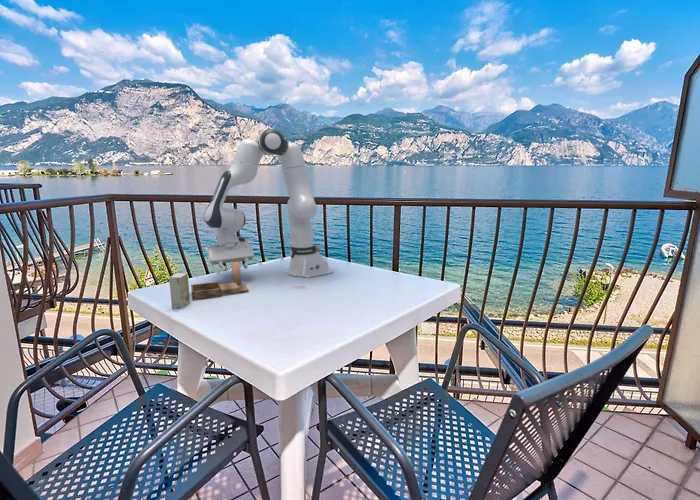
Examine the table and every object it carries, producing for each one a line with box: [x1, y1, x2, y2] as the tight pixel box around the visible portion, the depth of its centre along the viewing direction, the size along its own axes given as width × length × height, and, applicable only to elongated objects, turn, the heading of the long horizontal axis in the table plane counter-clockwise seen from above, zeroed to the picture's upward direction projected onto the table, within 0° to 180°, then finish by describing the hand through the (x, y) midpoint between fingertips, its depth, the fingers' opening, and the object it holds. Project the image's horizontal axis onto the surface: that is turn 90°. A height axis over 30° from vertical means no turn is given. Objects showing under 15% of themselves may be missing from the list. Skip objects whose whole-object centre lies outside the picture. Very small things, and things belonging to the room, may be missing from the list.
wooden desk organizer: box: [190, 281, 250, 301], centre depth 148 cm, size 22×10×4 cm, turn 115°
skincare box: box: [168, 272, 191, 309], centre depth 133 cm, size 6×4×12 cm
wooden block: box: [230, 261, 242, 285], centre depth 159 cm, size 4×4×10 cm
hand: (235, 269), depth 159 cm, fingers open, 8 cm apart
